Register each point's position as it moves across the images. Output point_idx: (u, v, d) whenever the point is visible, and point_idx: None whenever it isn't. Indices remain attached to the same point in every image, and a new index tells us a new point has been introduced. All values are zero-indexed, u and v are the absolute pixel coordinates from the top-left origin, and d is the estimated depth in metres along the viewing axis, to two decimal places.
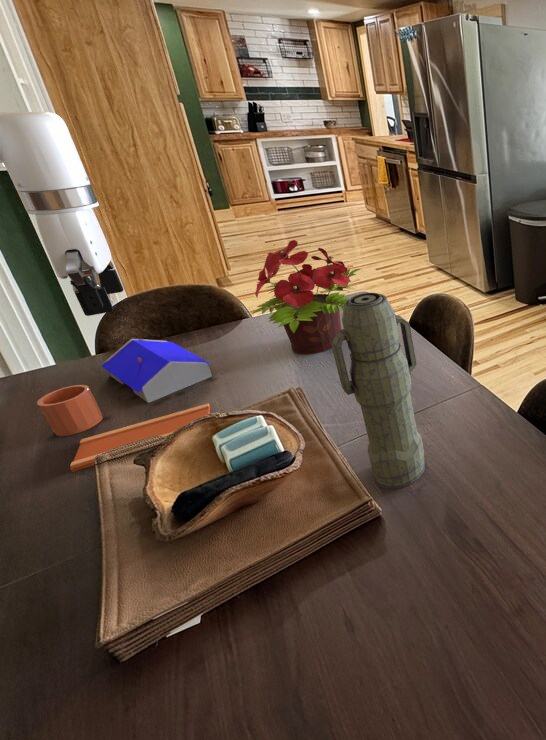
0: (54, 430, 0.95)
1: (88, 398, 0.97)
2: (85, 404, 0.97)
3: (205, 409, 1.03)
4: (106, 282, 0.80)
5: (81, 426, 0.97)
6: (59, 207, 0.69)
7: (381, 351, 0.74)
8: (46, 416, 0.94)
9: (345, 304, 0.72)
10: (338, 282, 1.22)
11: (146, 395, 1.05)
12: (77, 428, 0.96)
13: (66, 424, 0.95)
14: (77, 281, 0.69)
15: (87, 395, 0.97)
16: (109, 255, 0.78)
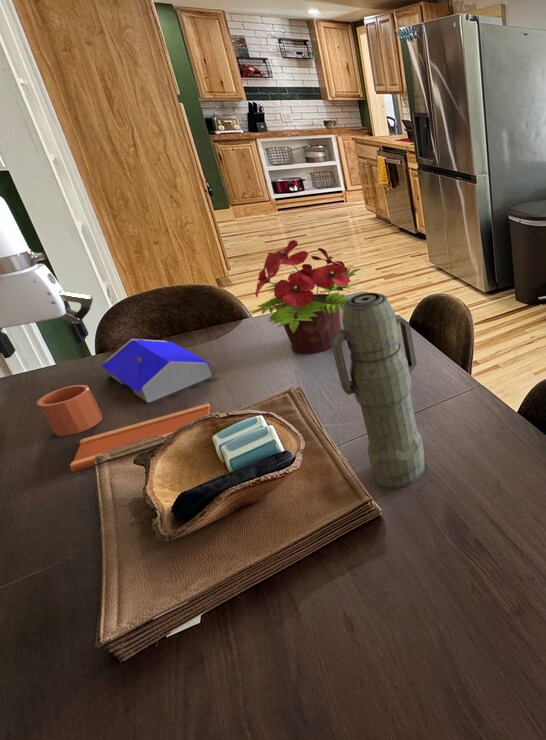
0: (54, 430, 0.95)
1: (88, 398, 0.97)
2: (85, 404, 0.97)
3: (205, 409, 1.03)
4: None
5: (81, 426, 0.97)
6: None
7: (381, 351, 0.74)
8: (46, 416, 0.94)
9: (345, 304, 0.72)
10: (338, 282, 1.22)
11: (146, 395, 1.05)
12: (77, 428, 0.96)
13: (66, 424, 0.95)
14: None
15: (87, 395, 0.97)
16: (46, 315, 0.88)
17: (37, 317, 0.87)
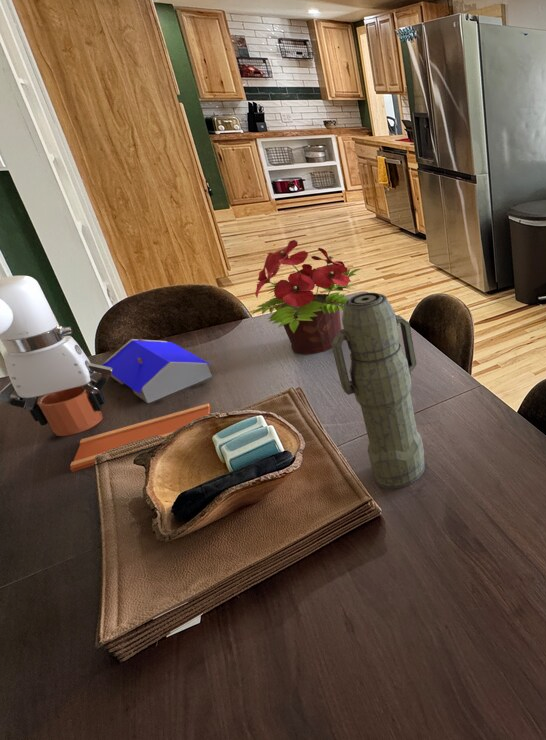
0: (54, 430, 0.95)
1: (88, 398, 0.97)
2: (85, 404, 0.97)
3: (205, 409, 1.03)
4: None
5: (81, 426, 0.97)
6: None
7: (381, 351, 0.74)
8: (46, 416, 0.94)
9: (345, 304, 0.72)
10: (338, 282, 1.22)
11: (146, 395, 1.05)
12: (77, 428, 0.96)
13: (66, 424, 0.95)
14: None
15: (87, 395, 0.97)
16: (73, 383, 0.95)
17: (64, 386, 0.94)
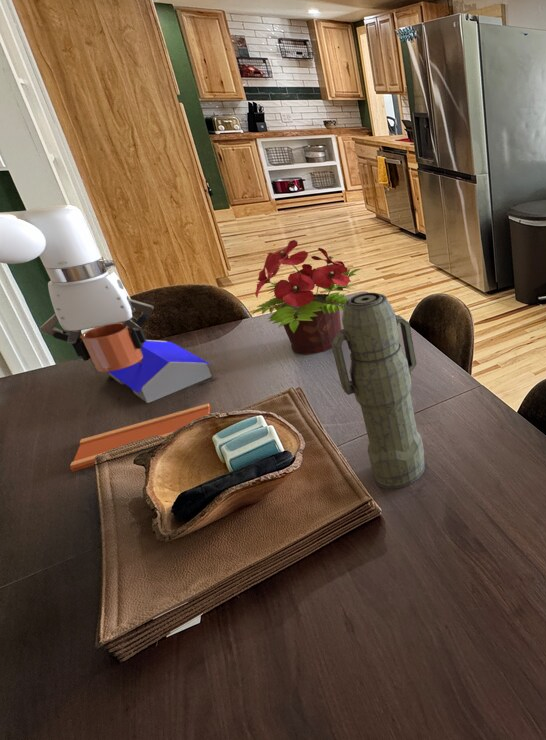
0: (96, 365, 0.94)
1: (130, 335, 0.97)
2: (127, 340, 0.96)
3: (205, 409, 1.03)
4: None
5: (123, 362, 0.96)
6: (50, 278, 0.88)
7: (381, 351, 0.74)
8: (89, 350, 0.93)
9: (345, 304, 0.72)
10: (338, 282, 1.22)
11: (145, 395, 1.05)
12: (119, 364, 0.95)
13: (109, 359, 0.94)
14: None
15: (128, 332, 0.96)
16: (115, 318, 0.94)
17: (107, 320, 0.93)
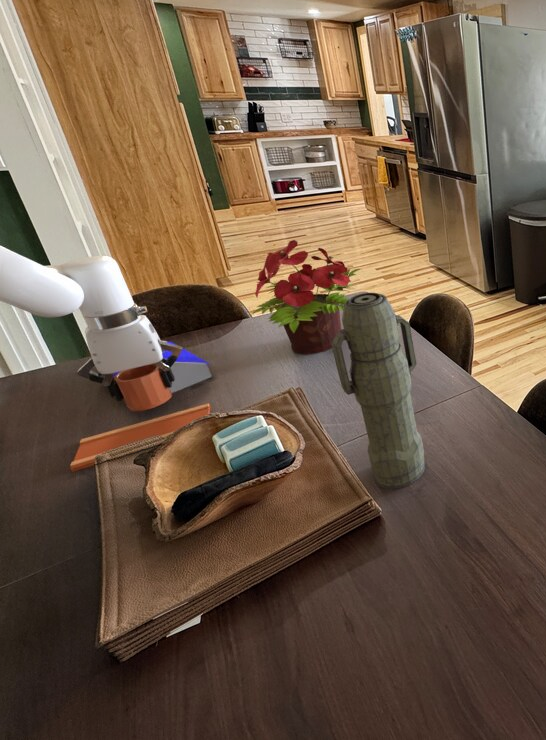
0: (129, 405, 0.99)
1: (160, 375, 1.01)
2: (158, 381, 1.01)
3: (205, 409, 1.03)
4: None
5: (154, 402, 1.00)
6: (88, 325, 0.93)
7: (381, 351, 0.74)
8: (123, 391, 0.98)
9: (345, 304, 0.72)
10: (338, 282, 1.22)
11: None
12: (151, 404, 1.00)
13: (141, 399, 0.99)
14: None
15: (159, 372, 1.01)
16: (147, 360, 0.99)
17: (139, 363, 0.98)
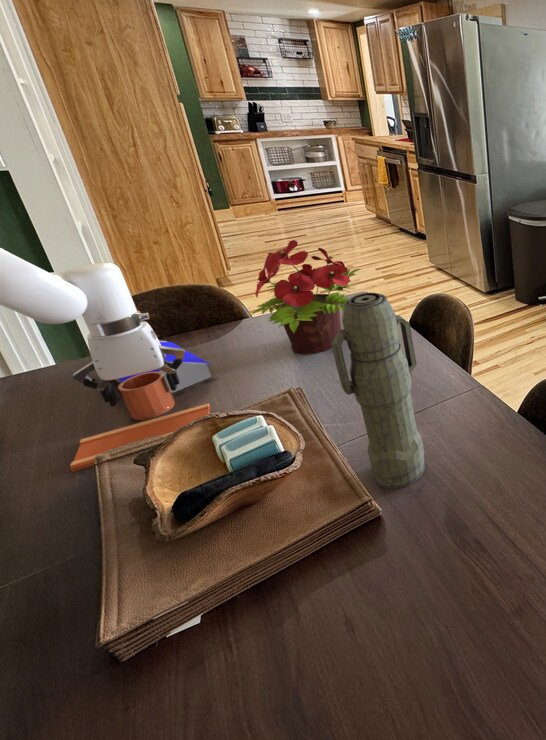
0: (133, 414, 1.00)
1: (163, 384, 1.02)
2: (161, 389, 1.02)
3: (205, 409, 1.03)
4: None
5: (157, 410, 1.01)
6: (90, 332, 0.93)
7: (381, 351, 0.74)
8: (126, 400, 0.98)
9: (345, 304, 0.72)
10: (338, 282, 1.22)
11: None
12: (154, 412, 1.01)
13: (144, 408, 1.00)
14: None
15: (162, 381, 1.02)
16: (148, 367, 0.99)
17: (141, 369, 0.98)
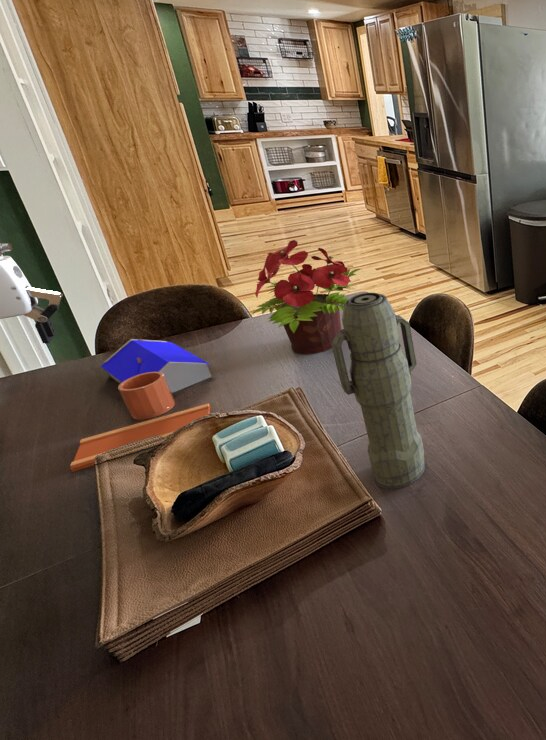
0: (133, 414, 1.00)
1: (163, 384, 1.02)
2: (161, 389, 1.02)
3: (205, 409, 1.03)
4: None
5: (157, 410, 1.01)
6: None
7: (381, 351, 0.74)
8: (126, 400, 0.98)
9: (345, 304, 0.72)
10: (338, 282, 1.22)
11: None
12: (154, 412, 1.01)
13: (144, 408, 1.00)
14: None
15: (162, 381, 1.02)
16: (9, 311, 0.80)
17: None
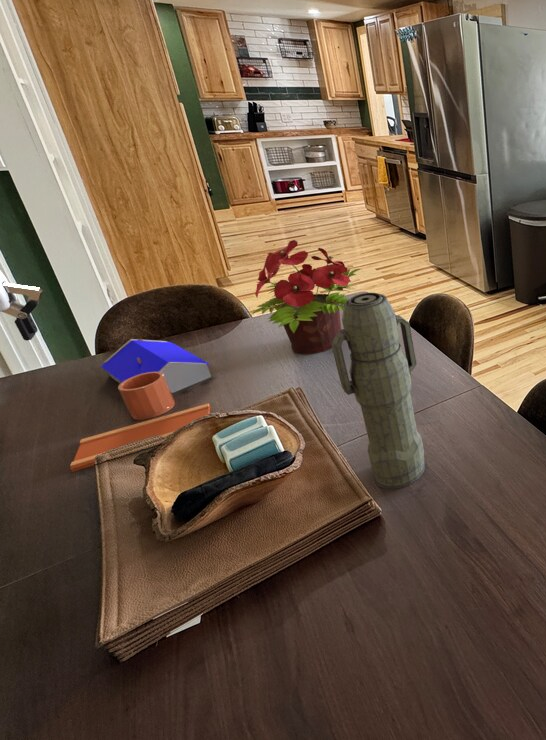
0: (133, 414, 1.00)
1: (163, 384, 1.02)
2: (161, 389, 1.02)
3: (205, 409, 1.03)
4: None
5: (157, 410, 1.01)
6: None
7: (381, 351, 0.74)
8: (126, 400, 0.98)
9: (345, 304, 0.72)
10: (338, 282, 1.22)
11: None
12: (154, 412, 1.01)
13: (144, 408, 1.00)
14: None
15: (162, 381, 1.02)
16: None
17: None
